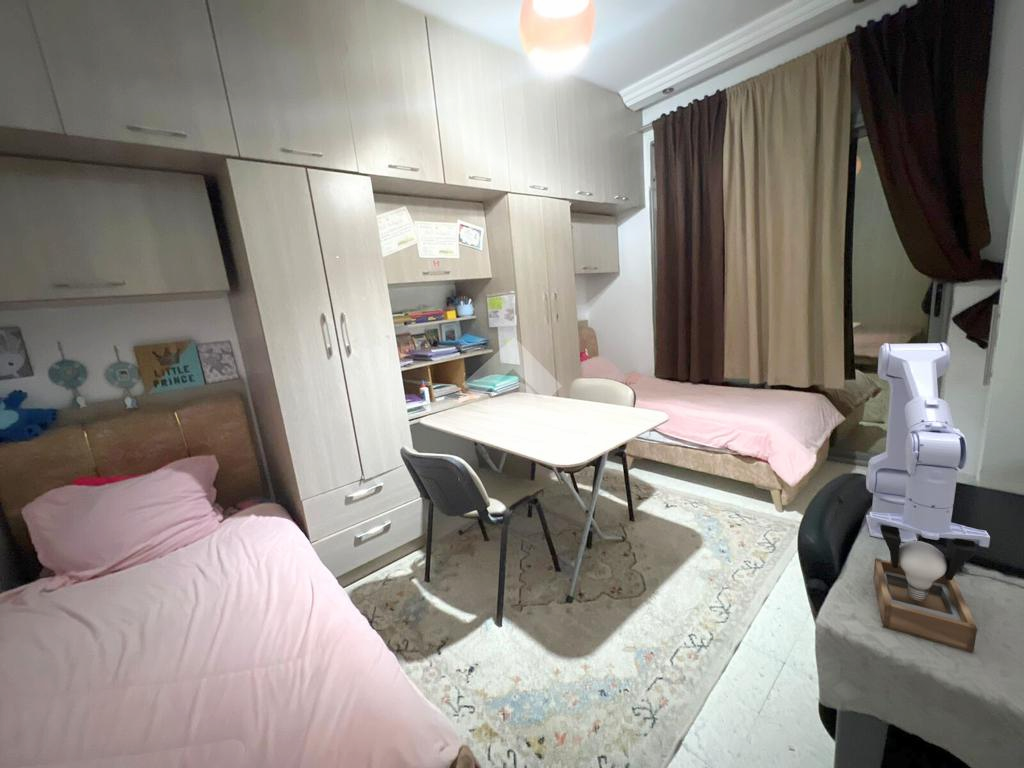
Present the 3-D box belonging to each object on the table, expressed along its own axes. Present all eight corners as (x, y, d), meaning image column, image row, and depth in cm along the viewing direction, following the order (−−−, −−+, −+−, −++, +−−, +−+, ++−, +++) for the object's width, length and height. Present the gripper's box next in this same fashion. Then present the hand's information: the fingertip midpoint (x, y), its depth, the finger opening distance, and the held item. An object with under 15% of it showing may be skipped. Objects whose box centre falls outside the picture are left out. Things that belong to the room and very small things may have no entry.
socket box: (873, 578, 82) (875, 557, 81) (949, 596, 76) (952, 574, 75) (882, 627, 71) (885, 604, 70) (973, 653, 65) (977, 628, 64)
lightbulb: (951, 614, 70) (959, 556, 68) (904, 609, 72) (910, 552, 70) (927, 589, 76) (934, 535, 74) (885, 585, 78) (890, 532, 76)
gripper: (874, 501, 71) (868, 571, 74) (1001, 521, 63) (988, 598, 66) (870, 484, 77) (864, 549, 80) (985, 500, 68) (974, 572, 71)
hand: (920, 570), depth 73 cm, fingers closed on lightbulb, 6 cm apart
